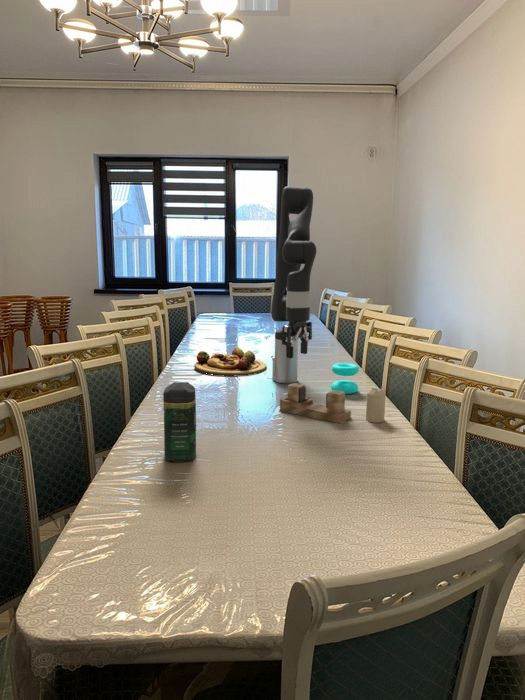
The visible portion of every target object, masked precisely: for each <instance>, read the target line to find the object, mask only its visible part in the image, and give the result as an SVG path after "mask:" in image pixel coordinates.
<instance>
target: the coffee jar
mask: <svg viewBox="0 0 525 700" xmlns="http://www.w3.org/2000/svg"><path fill="white" fill-rule="evenodd" d="M162 395H163V396H162V397H163V400H162V401H163V403H162V404H163V433H164V435H163V436H164V437H163V439H164V440H163V442H164V443H163V444H164V445H163V446H164V447H163V449H164V458H165V460H167V461H171V462H174V463H175V462H176V463H182V462H186V461H191V460H193V459H194V458H195V456H196V454H197V405H196V404H197V403H196V401H197V400H196V399H197V398H196V387H195V386H194V385H192V384H191V383H190V382H188V381H179V382H178V381H174V382H172V383H171V384H169V385H167V386H166V387H165V388H164V391H163V394H162Z"/></svg>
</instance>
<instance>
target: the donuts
mask: <svg viewBox="0 0 525 700" xmlns="http://www.w3.org/2000/svg"><path fill="white" fill-rule="evenodd" d="M331 371H332V373H333V374H334V375H337V376H341V377H352V376H356V375H357V374H358V373H359V372H360V368H359V366H358V365H357V364H354V363H349V362H339V363H334V364H333V365H332V366H331ZM330 388H331V389H330V390H331V391H332V390H337V391H342V392H345V395H350V394H351V395H352V394H355V393H357V392H358V391H359V386H358V384H357V383H356V382H354V381H352V380H346V379H345V380H344V379H343V380H342V379H340V380H336V381H334V382H332V383H331V386H330Z"/></svg>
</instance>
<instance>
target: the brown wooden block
mask: <svg viewBox="0 0 525 700" xmlns="http://www.w3.org/2000/svg"><path fill="white" fill-rule="evenodd" d="M305 385H306V384H303V383H297V382H294V383H289V384H287V397H288V401H293V402H298V403H303V402H304V401H305V398H307V397H306V396H307V395H306V394H307V393H306V389H307V388H306V386H305Z"/></svg>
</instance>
